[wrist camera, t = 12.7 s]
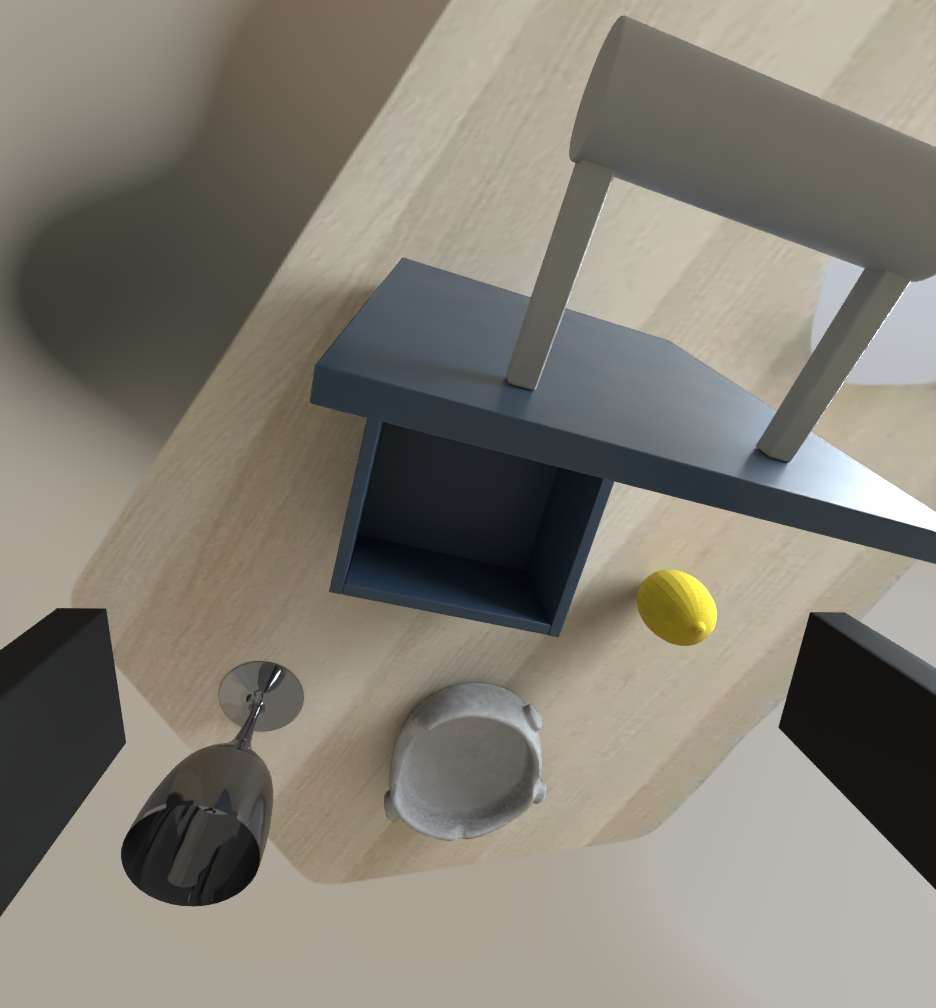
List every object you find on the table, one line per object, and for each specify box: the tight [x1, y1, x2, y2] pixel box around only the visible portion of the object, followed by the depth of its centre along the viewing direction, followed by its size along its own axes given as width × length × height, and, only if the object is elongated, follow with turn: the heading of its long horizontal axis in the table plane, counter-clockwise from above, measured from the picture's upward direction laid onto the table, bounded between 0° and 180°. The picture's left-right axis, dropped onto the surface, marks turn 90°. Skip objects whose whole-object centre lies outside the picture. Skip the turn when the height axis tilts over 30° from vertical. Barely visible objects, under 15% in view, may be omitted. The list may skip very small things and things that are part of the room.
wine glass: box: [121, 662, 304, 906], centre depth 38 cm, size 8×8×15 cm
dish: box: [384, 683, 546, 841], centre depth 46 cm, size 14×14×5 cm
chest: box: [329, 418, 614, 637], centre depth 36 cm, size 20×16×10 cm
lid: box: [310, 16, 936, 564], centre depth 18 cm, size 20×16×8 cm
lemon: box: [637, 570, 717, 646], centre depth 42 cm, size 6×6×8 cm
